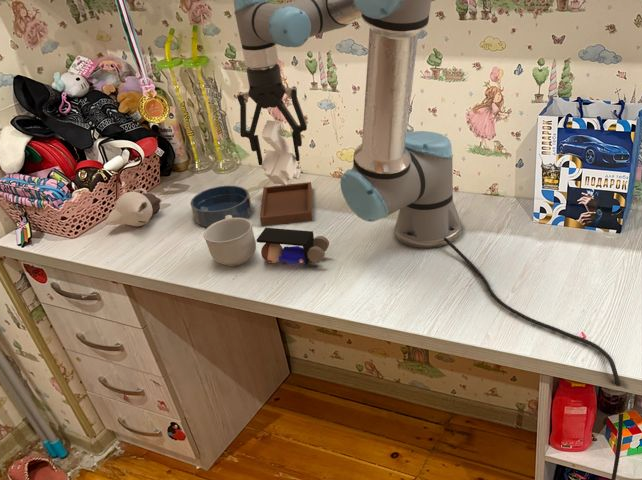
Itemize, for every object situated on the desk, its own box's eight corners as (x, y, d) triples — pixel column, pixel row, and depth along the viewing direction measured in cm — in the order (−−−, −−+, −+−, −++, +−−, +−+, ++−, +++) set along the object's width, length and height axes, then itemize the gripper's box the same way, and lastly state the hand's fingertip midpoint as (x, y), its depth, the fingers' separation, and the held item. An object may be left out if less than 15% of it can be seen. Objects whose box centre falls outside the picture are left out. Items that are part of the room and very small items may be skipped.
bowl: (250, 224, 173) (246, 208, 170) (191, 231, 172) (186, 214, 169) (253, 198, 184) (250, 182, 181) (198, 204, 184) (194, 189, 181)
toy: (144, 224, 187) (106, 239, 174) (128, 192, 184) (89, 206, 172) (180, 210, 181) (143, 225, 168) (165, 177, 178) (127, 190, 166)
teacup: (254, 270, 155) (247, 238, 150) (206, 273, 156) (197, 241, 151) (263, 239, 166) (257, 208, 161) (219, 242, 167) (211, 211, 162)
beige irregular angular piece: (312, 148, 176) (284, 114, 163) (296, 190, 174) (267, 159, 160) (288, 145, 179) (259, 111, 165) (272, 186, 177) (242, 155, 163)
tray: (312, 220, 172) (311, 212, 170) (261, 226, 171) (259, 217, 170) (312, 189, 186) (311, 181, 184) (265, 195, 185) (263, 187, 184)
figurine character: (330, 260, 159) (267, 252, 160) (330, 231, 154) (264, 223, 156) (323, 276, 154) (258, 267, 155) (322, 247, 149) (255, 238, 151)
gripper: (309, 55, 160) (322, 150, 174) (217, 65, 159) (237, 159, 174) (309, 65, 154) (322, 162, 168) (213, 75, 154) (234, 171, 168)
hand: (279, 160), depth 171 cm, fingers closed on beige irregular angular piece, 8 cm apart
